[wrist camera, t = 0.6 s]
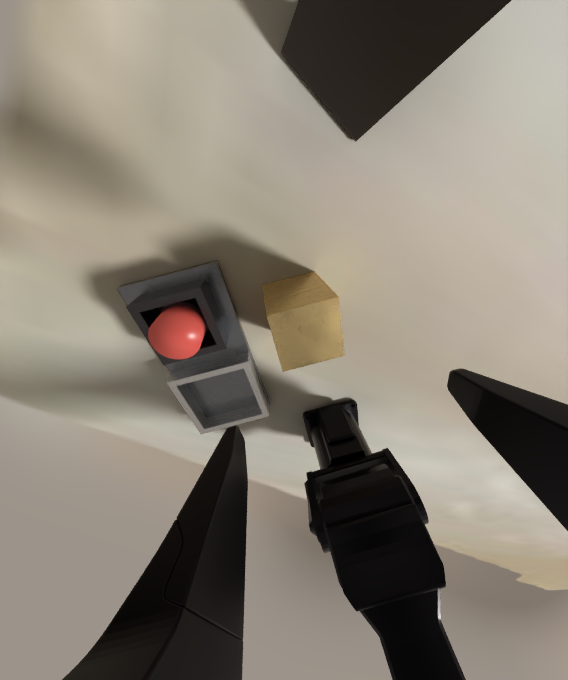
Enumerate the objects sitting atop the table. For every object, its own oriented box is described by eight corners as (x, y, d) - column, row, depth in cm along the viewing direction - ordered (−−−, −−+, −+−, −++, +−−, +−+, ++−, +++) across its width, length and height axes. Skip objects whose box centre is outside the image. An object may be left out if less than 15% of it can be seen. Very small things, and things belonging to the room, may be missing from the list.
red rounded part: (213, 334, 19) (208, 352, 17) (173, 345, 19) (163, 364, 17) (196, 296, 17) (188, 310, 15) (151, 308, 17) (137, 324, 15)
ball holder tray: (269, 403, 26) (271, 423, 24) (204, 420, 26) (199, 442, 24) (217, 260, 18) (212, 269, 15) (120, 286, 18) (100, 299, 15)
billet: (321, 318, 21) (344, 355, 16) (274, 331, 21) (282, 371, 16) (314, 271, 19) (338, 296, 14) (261, 285, 19) (266, 315, 14)
